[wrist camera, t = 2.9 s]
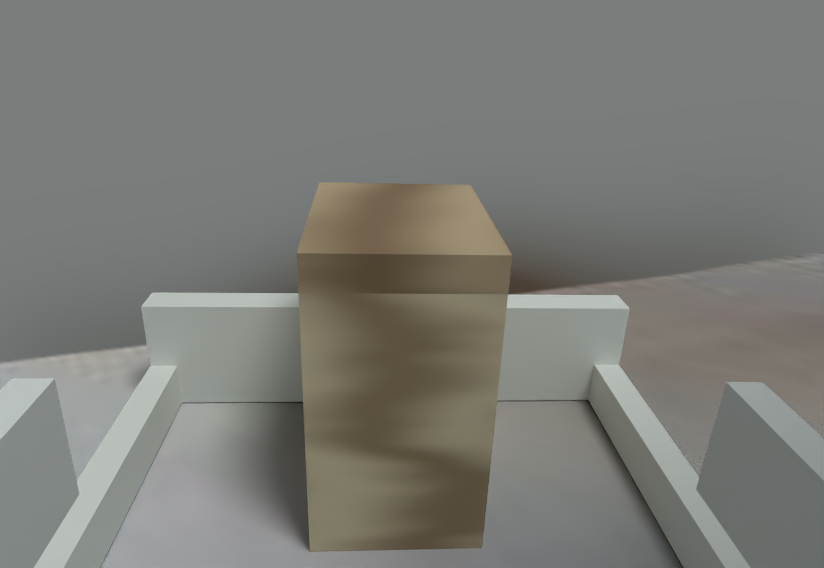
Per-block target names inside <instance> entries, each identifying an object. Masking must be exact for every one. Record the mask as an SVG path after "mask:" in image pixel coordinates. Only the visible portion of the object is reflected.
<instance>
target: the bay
mask: <svg viewBox="0 0 824 568" xmlns="http://www.w3.org/2000/svg"><path fill="white" fill-rule="evenodd" d="M141 308H142V315H143V321H144V328H145V334H146V341H147V347H148V354H149V360H150V367H149V369H148V370H147V372H146V374H145V375H144V377H143V378H142V380H141V381H140V383H139V384H138V386H137V388H136V389H135V391H134V392H133V394H132V395H131V397H130V399H129V400H128V402H127V403H126V405H125V406H124V408H123V409H122V411H121V413H120V414H119V416H118V417H117V419H116V420H115V422H114V424H113V425H112V427H111V428H110V430H109V431H108V433H107V434H106V436H105V438H104V439H103V441H102V442H101V444H100V445H99V447H98V449H97V450H96V452H95V453H94V455H93V456H92V458H91V459H90V461H89V463H88V464H87V466H86V467H85V469H84V470H83V472H82V474H81V475H80V477H79V478H78V480H77V485H78V490H79V496H78V497H77V499H76V500H75V502H74V504H73V505H72V507H71V509H70V510H69V512H68V513H67V515H66V517H65V518H64V520H63V521H62V523H61V525H60V526H59V528H58V530H57V531H56V533H55V534H54V536H53V538H52V539H51V541H50V542H49V544H48V546H47V547H46V549H45V550H44V552H43V554H42V555H41V557H40V559H39V560H38V562H37V563H36V565H35V567H34V568H100V567H101V565H102V563H103V561H104V559H105V557H106V555H107V553H108V551H109V549H110V547H111V545H112V543H113V541H114V539H115V537H116V535H117V533H118V531H119V529H120V527H121V525H122V523H123V521H124V519H125V517H126V515H127V513H128V511H129V509H130V507H131V505H132V503H133V501H134V499H135V497H136V495H137V493H138V491H139V489H140V487H141V485H142V483H143V481H144V479H145V477H146V475H147V473H148V471H149V469H150V466H151V464H152V462H153V460H154V458H155V456H156V454H157V452H158V450H159V448H160V446H161V444H162V442H163V440H164V438H165V436H166V434H167V432H168V430H169V428H170V426H171V424H172V422H173V420H174V418H175V416H176V414H177V412H178V410H179V408H180V406H181V404H182V403H184V402H303V386H302V364H301V341H300V319H299V296H298V294H296V293H294V294H293V293H291V294H290V293H276V294H275V293H152V294H151V295H150V296H149V298H148V299H147V300H146V301H145V303H144V304H143V305H142V306H141ZM628 314H629V307H628V306H627V305H626V304H625V303H624V302H623V301H622V300H621V298H620V297H619V296H618V295H508V300H507V309H506V319H505V329H504V338H503V348H502V358H501V367H500V377H499V387H498V396H497V401H508V400H589V402H590V404H591V405H592V407H593V409H594V411H595V412H596V414H597V416H598V418H599V419H600V421H601V423H602V425H603V427H604V428H605V430H606V432H607V434H608V435H609V437H610V439H611V441H612V442H613V444H614V446H615V448H616V449H617V451H618V453H619V455H620V456H621V458H622V460H623V462H624V464H625V465H626V467H627V469H628V471H629V472H630V474H631V476H632V478H633V479H634V481H635V483H636V485H637V486H638V488H639V490H640V492H641V493H642V495H643V497H644V499H645V501H646V502H647V504H648V506H649V508H650V509H651V511H652V513H653V515H654V516H655V518H656V520H657V522H658V523H659V525H660V527H661V529H662V530H663V532H664V534H665V536H666V537H667V539H668V541H669V543H670V545H671V546H672V548H673V550H674V552H675V553H676V555H677V557H678V559H679V560H680V562H681V564H682V566H683V567H684V568H750V566H749V565H748V563H747V562H746V560H745V559H744V558H743V556H742V555H741V553H740V552H739V550H738V549H737V547H736V546H735V545H734V543H733V542H732V540H731V539H730V537H729V536H728V534H727V533H726V532H725V530H724V529H723V527H722V526H721V524H720V523H719V521H718V520H717V519H716V517H715V516H714V514H713V513H712V511H711V510H710V509H709V507H708V506H707V504H706V503H705V501H704V500H703V498H702V497H701V496H700V494H699V493H698V491H697V490H696V488H697V484H698V480H699V476H698V475H697V474H696V472H695V471H694V469H693V468H692V467H691V465H690V464H689V462H688V461H687V460H686V458H685V457H684V455H683V454H682V453H681V451H680V450H679V448H678V447H677V446H676V444H675V443H674V441H673V440H672V439H671V437H670V436H669V434H668V433H667V432H666V430H665V429H664V427H663V426H662V425H661V423H660V422H659V420H658V419H657V418H656V416H655V415H654V413H653V412H652V411H651V409H650V408H649V406H648V405H647V404H646V402H645V401H644V399H643V398H642V397H641V395H640V394H639V392H638V391H637V390H636V388H635V387H634V385H633V384H632V383H631V381H630V380H629V378H628V377H627V376H626V374H625V373H624V371H623V370H622V369H621V367H620V366H619V361H620V356H621V351H622V346H623V341H624V335H625V330H626V325H627V320H628Z"/></svg>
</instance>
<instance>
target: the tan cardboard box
mask: <svg viewBox="0 0 824 568" xmlns="http://www.w3.org/2000/svg"><path fill="white" fill-rule="evenodd" d="M511 261H512V255H511V253H510V251H509V249H508V248H507V246H506V244H505V243H504V241H503V239H502V238H501V236H500V234H499V232H498V231H497V229H496V227H495V226H494V224H493V222H492V221H491V219H490V217H489V216H488V214H487V212H486V211H485V209H484V207H483V205H482V204H481V202H480V201H479V199H478V197H477V195H476V194H475V192H474V190H473V189H472V187H471V185H439V184H385V183H384V184H383V183H327V182H320V183H319V186H318V189H317V192H316V195H315V198H314V201H313V204H312V208H311V211H310V213H309V216H308V220H307V223H306V226H305V229H304V232H303V235H302V238H301V241H300V244H299V247H298V250H297V271H298V272H297V274H298V296H299V319H300V341H301V364H302V386H303V409H304V432H305V454H306V477H307V499H308V522H309V544H310V552H321V551H365V550H410V549H454V548H482V541H483V532H484V522H485V512H486V503H487V493H488V483H489V474H490V464H491V454H492V445H493V435H494V425H495V416H496V406H497V396H498V387H499V377H500V367H501V358H502V348H503V338H504V329H505V319H506V309H507V300H508V290H509V280H510V271H511Z"/></svg>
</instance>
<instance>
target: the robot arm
mask: <svg viewBox="0 0 824 568" xmlns="http://www.w3.org/2000/svg"><path fill="white" fill-rule="evenodd" d="M696 490H697V491H698V493H699V494H700V496H701V497H702V498H703V500H704V501H705V503H706V504H707V506H708V507H709V509H710V510H711V511H712V513H713V514H714V516H715V517H716V519H717V520H718V521H719V523H720V524H721V526H722V527H723V529H724V530H725V532H726V533H727V534H728V536H729V537H730V539H731V540H732V542H733V543H734V545H735V546H736V547H737V549H738V550H739V552H740V553H741V555H742V556H743V558H744V559H745V560H746V562H747V563H748V565H749V566H750V568H824V438H823V437H821V436H820V435H819V434H818V433H817V432H816V431H815V430H814V429H813V428H812V427H811V426H810V425H808V424H807V423H806V422H805V421H804V420H803V419H802V418H801V417H800V416H799V415H798V414H797V413H795V412H794V411H793V410H792V409H791V408H790V407H789V406H788V405H787V404H786V403H785V402H784V401H782V400H781V399H780V398H779V397H778V396H777V395H776V394H775V393H774V392H773V391H772V390H770V389H769V388H768V387H767V386H766V385H765V384H764V383H763V382H726V385H725V389H724V392H723V396H722V399H721V403H720V406H719V410H718V413H717V417H716V421H715V424H714V428H713V431H712V435H711V438H710V442H709V445H708V449H707V452H706V456H705V459H704V463H703V466H702V470H701V473H700V477H699V480H698V484H697V488H696ZM78 496H79V490H78V485H77V481H76V476H75V471H74V467H73V462H72V457H71V453H70V448H69V443H68V439H67V434H66V429H65V425H64V420H63V415H62V411H61V406H60V401H59V397H58V392H57V387H56V383H55V379H28V378H12V379H11V380H10V381H9V382H8V383H7V384H6V385H5V386H4V387H3V388H2V389H1V390H0V568H34V567H35V565H36V563H37V562H38V560H39V559H40V557H41V555H42V554H43V552H44V550H45V549H46V547H47V546H48V544H49V542H50V541H51V539H52V538H53V536H54V534H55V533H56V531H57V530H58V528H59V526H60V525H61V523H62V521H63V520H64V518H65V517H66V515H67V513H68V512H69V510H70V509H71V507H72V505H73V504H74V502H75V500H76V499H77V497H78Z"/></svg>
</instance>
